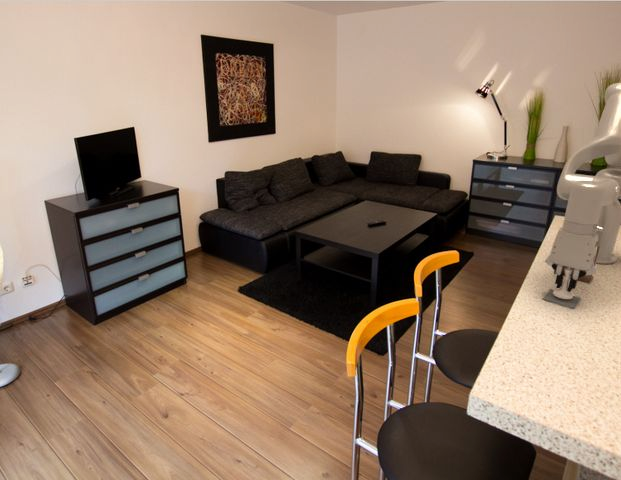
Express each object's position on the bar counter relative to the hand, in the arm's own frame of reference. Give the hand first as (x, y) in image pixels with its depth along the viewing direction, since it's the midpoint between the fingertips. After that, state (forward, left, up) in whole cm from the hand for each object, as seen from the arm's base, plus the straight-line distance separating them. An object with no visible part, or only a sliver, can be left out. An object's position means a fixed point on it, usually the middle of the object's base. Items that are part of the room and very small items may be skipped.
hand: (564, 288), depth 116 cm
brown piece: (-19, -2, -4) cm, 20 cm away
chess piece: (0, 0, -2) cm, 2 cm away
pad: (0, 0, -4) cm, 4 cm away
